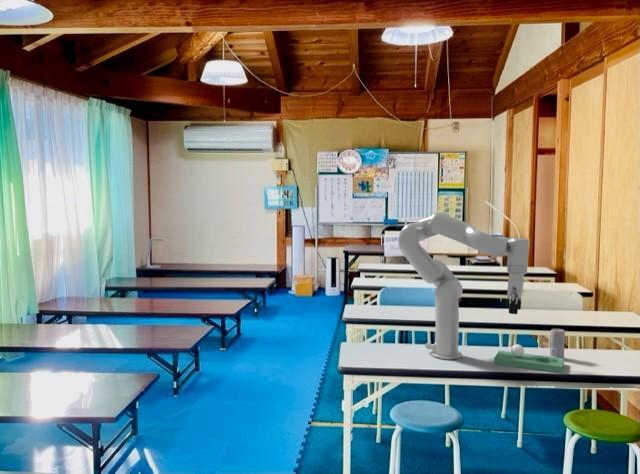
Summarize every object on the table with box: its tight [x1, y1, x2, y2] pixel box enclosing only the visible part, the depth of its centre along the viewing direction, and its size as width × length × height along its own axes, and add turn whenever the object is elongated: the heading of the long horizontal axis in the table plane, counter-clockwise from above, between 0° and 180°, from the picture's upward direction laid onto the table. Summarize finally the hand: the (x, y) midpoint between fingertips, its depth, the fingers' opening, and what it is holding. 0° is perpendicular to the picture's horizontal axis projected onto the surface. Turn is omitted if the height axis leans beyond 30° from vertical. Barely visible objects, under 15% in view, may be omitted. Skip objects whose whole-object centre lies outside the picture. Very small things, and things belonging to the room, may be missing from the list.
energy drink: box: [549, 328, 566, 359], centre depth 228 cm, size 5×5×12 cm
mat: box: [493, 350, 565, 374], centre depth 220 cm, size 25×12×2 cm, turn 63°
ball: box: [510, 343, 525, 357], centre depth 222 cm, size 5×5×5 cm
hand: (514, 311), depth 220 cm, fingers open, 9 cm apart
